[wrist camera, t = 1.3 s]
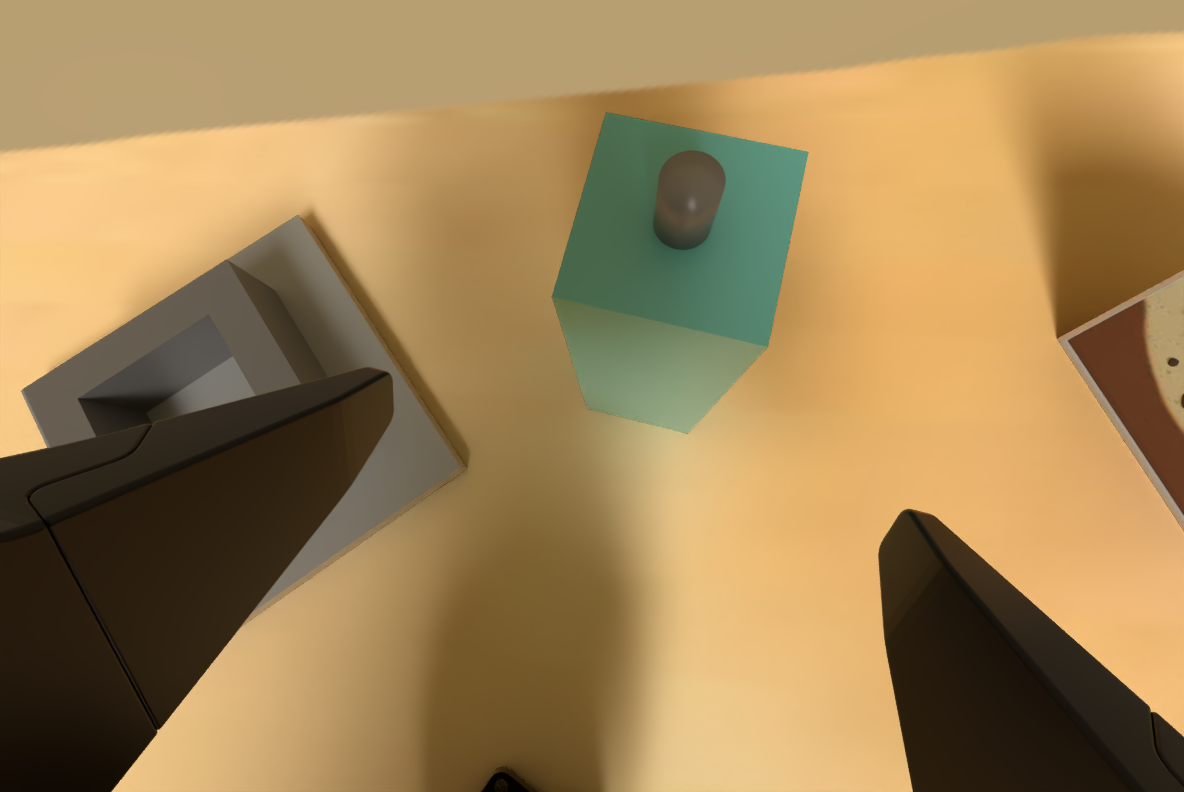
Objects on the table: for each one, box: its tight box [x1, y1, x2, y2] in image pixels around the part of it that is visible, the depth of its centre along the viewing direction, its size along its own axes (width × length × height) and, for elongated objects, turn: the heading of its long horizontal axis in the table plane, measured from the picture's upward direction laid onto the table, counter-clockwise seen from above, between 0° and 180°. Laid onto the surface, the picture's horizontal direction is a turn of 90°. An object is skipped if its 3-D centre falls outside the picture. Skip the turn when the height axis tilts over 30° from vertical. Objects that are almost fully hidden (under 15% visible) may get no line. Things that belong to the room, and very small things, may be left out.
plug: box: [552, 112, 808, 434], centre depth 17 cm, size 4×4×14 cm
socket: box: [21, 215, 467, 627], centre depth 22 cm, size 14×14×4 cm
